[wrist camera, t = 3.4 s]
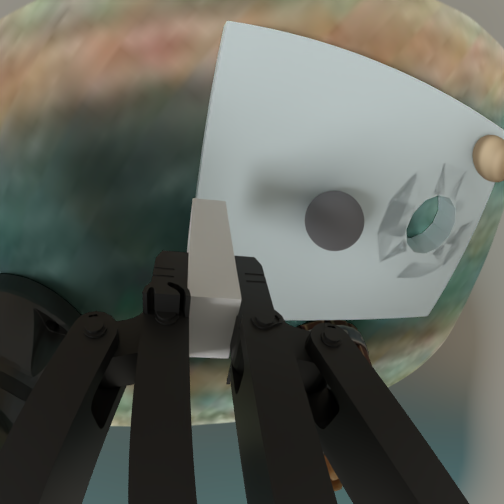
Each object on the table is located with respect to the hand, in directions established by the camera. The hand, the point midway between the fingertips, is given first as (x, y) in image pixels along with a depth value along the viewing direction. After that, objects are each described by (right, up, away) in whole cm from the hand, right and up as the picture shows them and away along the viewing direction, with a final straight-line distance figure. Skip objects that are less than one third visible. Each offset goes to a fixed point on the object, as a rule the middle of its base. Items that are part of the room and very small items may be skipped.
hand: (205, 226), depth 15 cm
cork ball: (+20, +6, +3) cm, 21 cm away
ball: (+7, +1, +4) cm, 8 cm away
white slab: (+10, +3, +8) cm, 13 cm away
